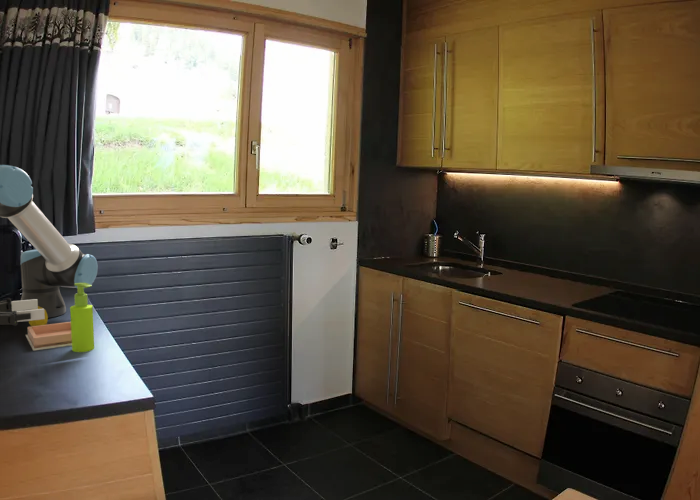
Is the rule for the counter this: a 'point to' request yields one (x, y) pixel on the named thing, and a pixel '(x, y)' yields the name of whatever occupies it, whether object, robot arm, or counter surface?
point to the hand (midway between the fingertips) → (40, 308)
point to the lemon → (39, 322)
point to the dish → (50, 334)
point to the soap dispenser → (82, 321)
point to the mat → (46, 347)
